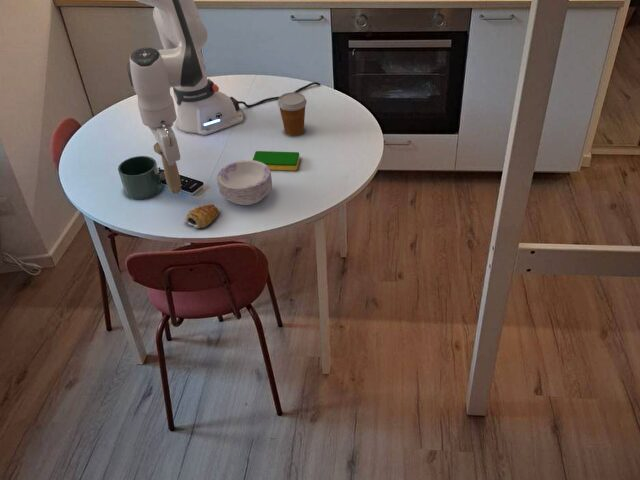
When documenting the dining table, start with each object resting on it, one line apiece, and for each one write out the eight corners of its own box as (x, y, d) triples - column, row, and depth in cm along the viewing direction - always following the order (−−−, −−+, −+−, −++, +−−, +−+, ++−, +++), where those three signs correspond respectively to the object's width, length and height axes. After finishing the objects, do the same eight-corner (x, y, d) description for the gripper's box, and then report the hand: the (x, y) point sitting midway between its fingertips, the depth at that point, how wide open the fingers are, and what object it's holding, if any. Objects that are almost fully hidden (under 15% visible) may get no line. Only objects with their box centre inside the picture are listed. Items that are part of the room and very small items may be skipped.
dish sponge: (296, 171, 188) (296, 164, 187) (252, 169, 189) (251, 162, 188) (299, 158, 194) (299, 151, 192) (256, 157, 194) (255, 150, 193)
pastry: (207, 206, 175) (205, 195, 172) (225, 214, 172) (223, 203, 170) (183, 223, 169) (181, 212, 167) (201, 232, 166) (198, 221, 164)
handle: (181, 198, 173) (171, 152, 163) (161, 194, 174) (150, 148, 164) (190, 189, 176) (180, 143, 166) (170, 185, 178) (159, 139, 168)
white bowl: (228, 180, 185) (224, 157, 180) (277, 182, 184) (275, 159, 178) (214, 210, 174) (210, 187, 168) (267, 213, 172) (264, 189, 167)
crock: (157, 175, 187) (151, 152, 182) (166, 193, 180) (160, 170, 175) (121, 184, 184) (114, 161, 178) (129, 203, 177) (122, 180, 171)
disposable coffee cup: (275, 135, 204) (271, 102, 196) (288, 122, 211) (285, 89, 203) (301, 140, 202) (298, 107, 194) (313, 127, 208) (311, 94, 200)
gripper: (180, 128, 153) (190, 175, 162) (161, 95, 167) (171, 140, 176) (155, 134, 151) (166, 181, 160) (137, 100, 165) (148, 145, 174)
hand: (168, 159), depth 168 cm, fingers closed on handle, 4 cm apart
